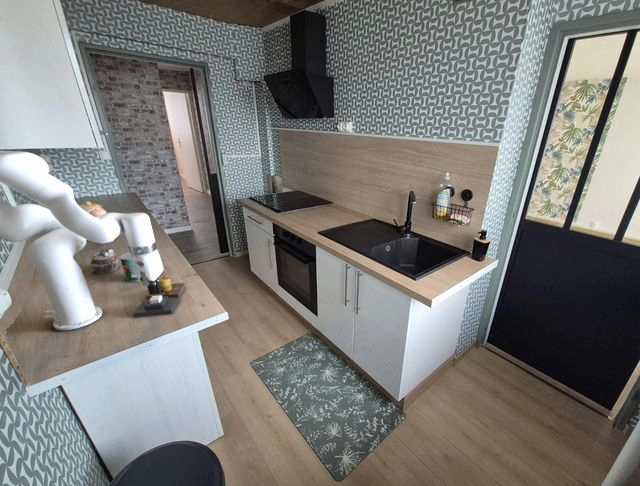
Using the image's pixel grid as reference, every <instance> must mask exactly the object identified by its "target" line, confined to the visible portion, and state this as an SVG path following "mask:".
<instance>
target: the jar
mask: <svg viewBox="0 0 640 486" xmlns="http://www.w3.org/2000/svg"><path fill="white" fill-rule="evenodd" d="M78 206H79V207H80V208H82V209H83V210H84V211H86V212H87V213H90V211H92V210H95V209H96V208H98V209H102V210H105V209H104V207H103V206H102V205H101V204H98V203H92V202H91V201H89V200H88V201H85V202H84V204H81V205H78Z"/></svg>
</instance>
